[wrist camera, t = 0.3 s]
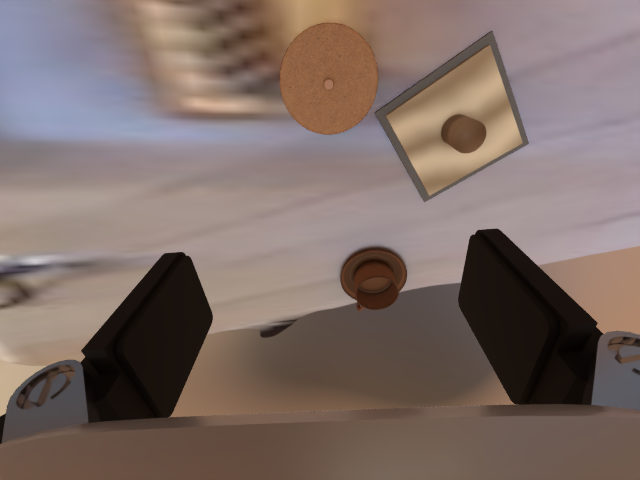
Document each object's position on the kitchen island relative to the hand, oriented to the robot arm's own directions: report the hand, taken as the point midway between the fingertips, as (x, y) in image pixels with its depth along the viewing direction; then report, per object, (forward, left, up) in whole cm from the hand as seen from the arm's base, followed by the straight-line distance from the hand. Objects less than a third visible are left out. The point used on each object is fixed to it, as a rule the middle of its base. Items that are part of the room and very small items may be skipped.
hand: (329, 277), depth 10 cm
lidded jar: (-3, +3, -36) cm, 36 cm away
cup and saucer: (+28, -8, -36) cm, 46 cm away
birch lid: (+12, +14, -36) cm, 40 cm away
